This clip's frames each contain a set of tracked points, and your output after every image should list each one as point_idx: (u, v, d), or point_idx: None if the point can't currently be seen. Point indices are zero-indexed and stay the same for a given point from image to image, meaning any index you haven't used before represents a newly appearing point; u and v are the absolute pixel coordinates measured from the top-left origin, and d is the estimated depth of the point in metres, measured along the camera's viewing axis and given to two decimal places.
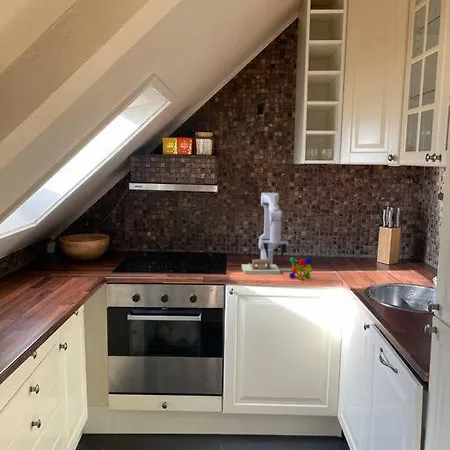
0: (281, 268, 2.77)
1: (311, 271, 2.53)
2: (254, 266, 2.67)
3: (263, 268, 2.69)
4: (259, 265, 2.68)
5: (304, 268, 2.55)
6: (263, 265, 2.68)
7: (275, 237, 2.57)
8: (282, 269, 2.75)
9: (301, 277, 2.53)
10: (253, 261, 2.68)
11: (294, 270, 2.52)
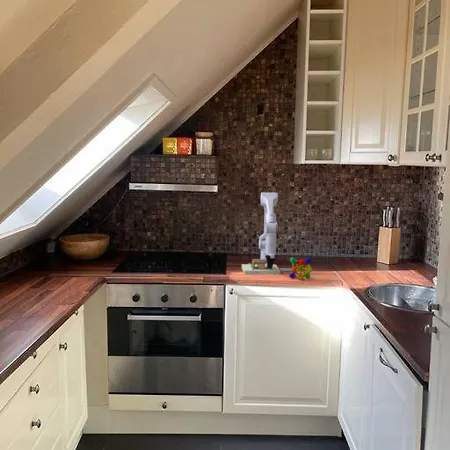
0: (281, 268, 2.77)
1: (311, 271, 2.53)
2: (254, 266, 2.67)
3: (263, 268, 2.69)
4: (259, 265, 2.68)
5: (304, 268, 2.55)
6: (263, 265, 2.68)
7: (265, 248, 2.64)
8: (282, 269, 2.75)
9: (301, 277, 2.53)
10: (253, 261, 2.68)
11: (294, 270, 2.52)
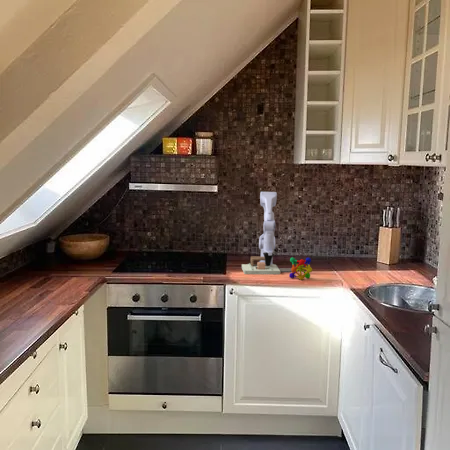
0: (281, 268, 2.77)
1: (311, 271, 2.53)
2: (252, 263, 2.75)
3: (263, 268, 2.69)
4: (259, 265, 2.68)
5: (304, 268, 2.55)
6: (263, 265, 2.68)
7: (263, 245, 2.72)
8: (282, 269, 2.75)
9: (301, 277, 2.53)
10: (251, 258, 2.76)
11: (294, 270, 2.52)
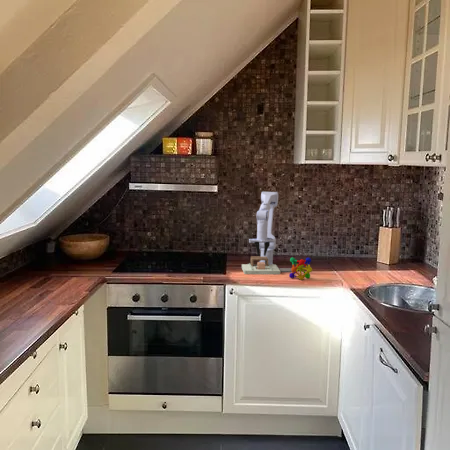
0: (281, 268, 2.77)
1: (311, 271, 2.53)
2: (252, 263, 2.75)
3: (263, 268, 2.69)
4: (259, 265, 2.68)
5: (304, 268, 2.55)
6: (263, 265, 2.68)
7: (263, 236, 2.65)
8: (282, 269, 2.75)
9: (301, 277, 2.53)
10: (251, 258, 2.76)
11: (294, 270, 2.52)
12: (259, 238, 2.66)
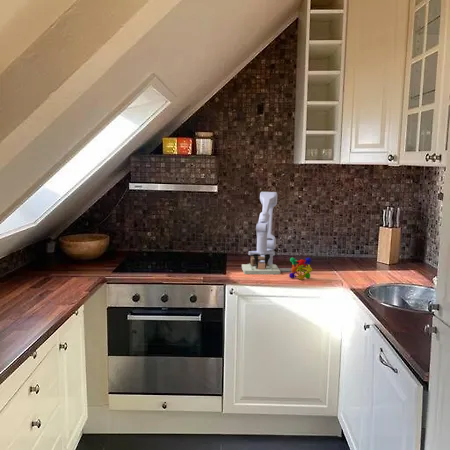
0: (281, 268, 2.77)
1: (311, 271, 2.53)
2: (252, 263, 2.75)
3: (263, 268, 2.69)
4: (259, 265, 2.68)
5: (304, 268, 2.55)
6: (263, 265, 2.68)
7: (262, 248, 2.66)
8: (282, 269, 2.75)
9: (301, 277, 2.53)
10: (251, 258, 2.76)
11: (294, 270, 2.52)
12: (259, 250, 2.67)
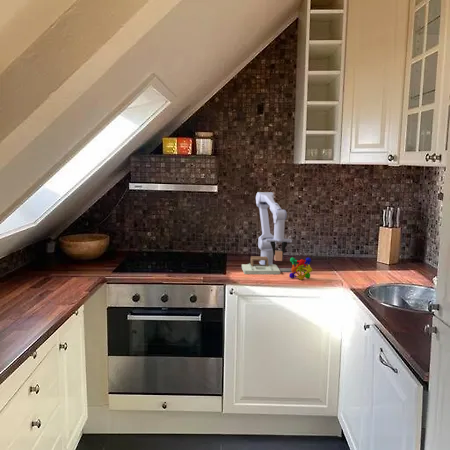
0: (281, 268, 2.77)
1: (311, 271, 2.53)
2: (252, 263, 2.75)
3: (280, 256, 2.70)
4: (276, 253, 2.70)
5: (304, 268, 2.55)
6: (280, 253, 2.70)
7: (279, 235, 2.68)
8: (282, 269, 2.75)
9: (301, 277, 2.53)
10: (251, 258, 2.76)
11: (294, 270, 2.52)
12: (276, 238, 2.69)
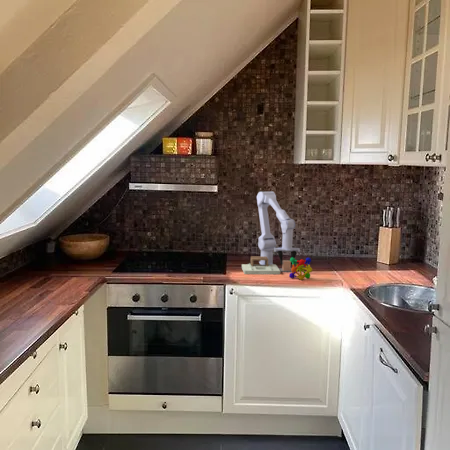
0: (281, 268, 2.77)
1: (311, 271, 2.53)
2: (252, 263, 2.75)
3: (288, 266, 2.72)
4: (285, 263, 2.72)
5: (304, 268, 2.55)
6: (288, 263, 2.72)
7: (288, 245, 2.70)
8: (282, 269, 2.75)
9: (301, 277, 2.53)
10: (251, 258, 2.76)
11: (294, 270, 2.52)
12: (284, 247, 2.71)
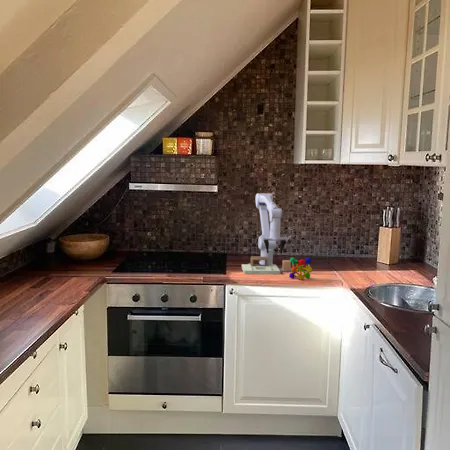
0: (281, 268, 2.77)
1: (311, 271, 2.53)
2: (252, 263, 2.75)
3: (288, 266, 2.72)
4: (285, 263, 2.72)
5: (304, 268, 2.55)
6: (288, 263, 2.72)
7: (275, 234, 2.70)
8: (282, 269, 2.75)
9: (301, 277, 2.53)
10: (251, 258, 2.76)
11: (294, 270, 2.52)
12: (272, 236, 2.71)
